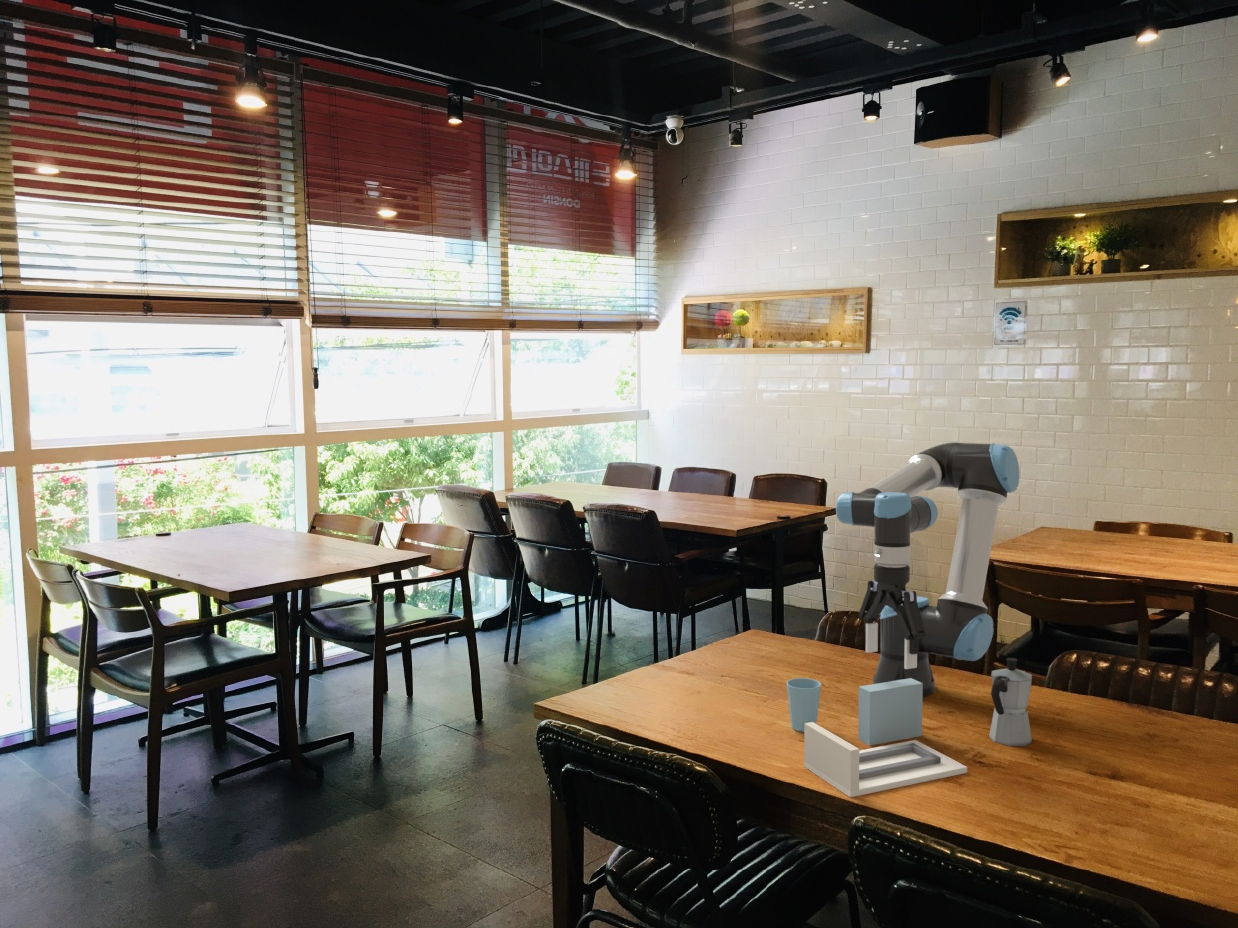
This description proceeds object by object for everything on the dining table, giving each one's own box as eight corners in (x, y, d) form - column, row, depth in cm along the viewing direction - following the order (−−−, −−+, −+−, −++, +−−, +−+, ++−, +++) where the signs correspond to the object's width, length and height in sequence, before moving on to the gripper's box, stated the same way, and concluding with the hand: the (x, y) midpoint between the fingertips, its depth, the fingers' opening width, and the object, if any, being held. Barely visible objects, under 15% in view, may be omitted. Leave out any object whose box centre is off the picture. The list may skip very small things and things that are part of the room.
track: (915, 745, 215) (915, 703, 214) (967, 772, 200) (967, 728, 199) (804, 766, 204) (804, 723, 204) (850, 797, 190) (850, 750, 189)
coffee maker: (1003, 726, 225) (1005, 648, 223) (1042, 736, 219) (1044, 656, 217) (972, 744, 215) (974, 663, 213) (1012, 755, 208) (1014, 671, 207)
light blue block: (910, 729, 224) (910, 677, 223) (921, 735, 220) (922, 683, 219) (858, 739, 219) (858, 686, 218) (869, 745, 215) (869, 691, 214)
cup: (828, 730, 224) (827, 685, 223) (799, 735, 221) (799, 690, 220) (808, 719, 231) (808, 676, 230) (780, 725, 228) (780, 680, 227)
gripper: (843, 555, 226) (842, 647, 228) (915, 576, 203) (913, 677, 205) (871, 553, 229) (870, 643, 231) (944, 572, 206) (942, 673, 208)
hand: (890, 659), depth 218 cm, fingers open, 13 cm apart
